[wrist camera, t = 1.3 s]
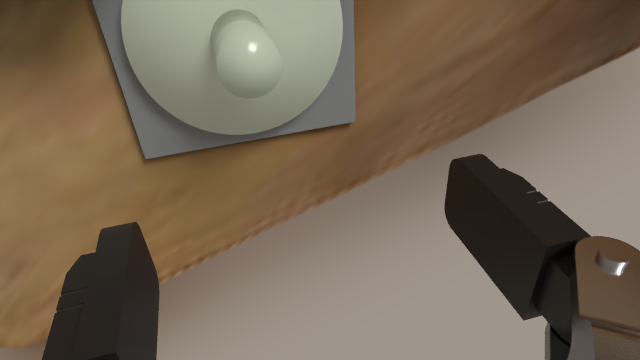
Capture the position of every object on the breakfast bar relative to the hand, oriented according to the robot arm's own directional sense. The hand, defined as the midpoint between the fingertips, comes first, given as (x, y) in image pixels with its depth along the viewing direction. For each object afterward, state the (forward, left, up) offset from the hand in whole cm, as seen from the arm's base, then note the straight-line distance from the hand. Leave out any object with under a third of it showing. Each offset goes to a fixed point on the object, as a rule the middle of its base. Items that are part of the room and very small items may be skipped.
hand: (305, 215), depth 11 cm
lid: (0, 0, -17) cm, 17 cm away
